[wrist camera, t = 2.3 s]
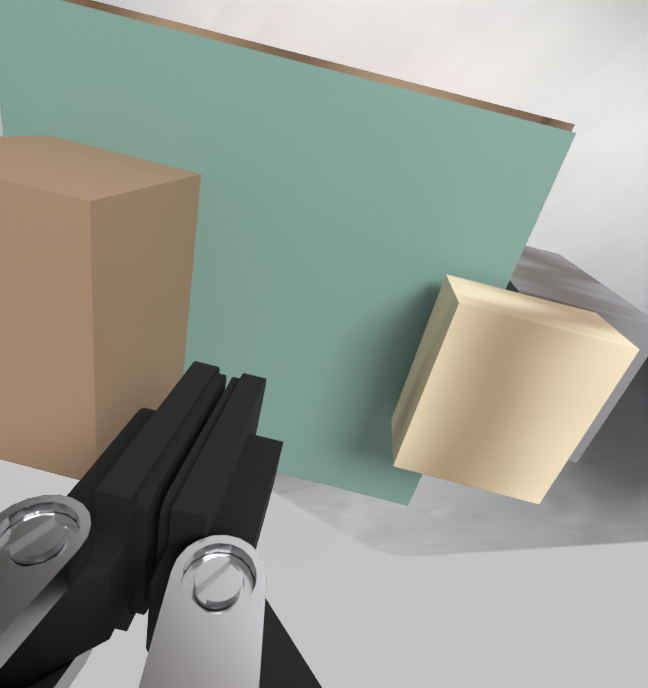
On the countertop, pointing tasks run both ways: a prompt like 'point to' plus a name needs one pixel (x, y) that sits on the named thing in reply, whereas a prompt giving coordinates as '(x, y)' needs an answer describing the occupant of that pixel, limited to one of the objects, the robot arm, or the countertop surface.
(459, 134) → the lid
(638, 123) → the countertop surface
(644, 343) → the wooden box
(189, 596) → the robot arm
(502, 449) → the pale gold block
